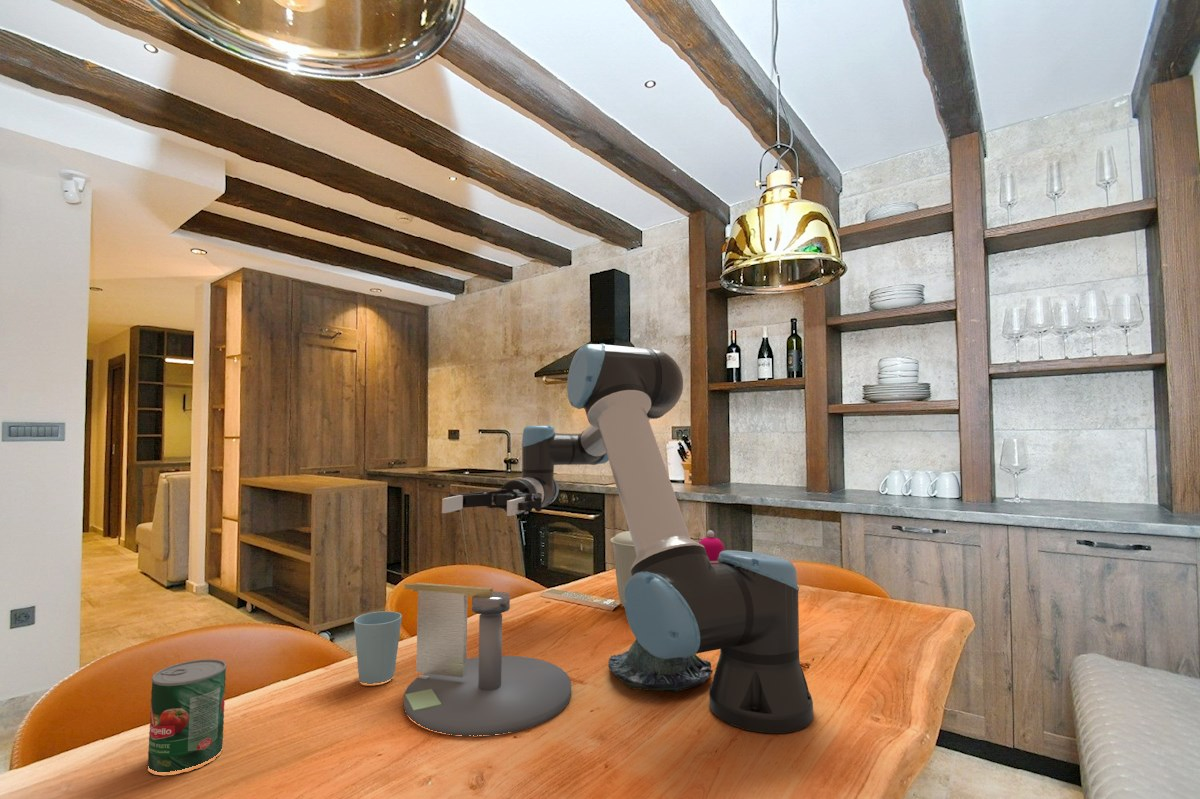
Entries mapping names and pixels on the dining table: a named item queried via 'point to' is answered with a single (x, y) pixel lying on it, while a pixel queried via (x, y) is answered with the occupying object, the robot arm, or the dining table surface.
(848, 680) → the dining table surface
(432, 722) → the stand
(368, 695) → the dining table surface
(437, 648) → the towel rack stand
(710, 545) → the pepper mill
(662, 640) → the robot arm
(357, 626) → the cup
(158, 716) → the canned tomato
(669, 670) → the tree stump
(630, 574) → the canister
